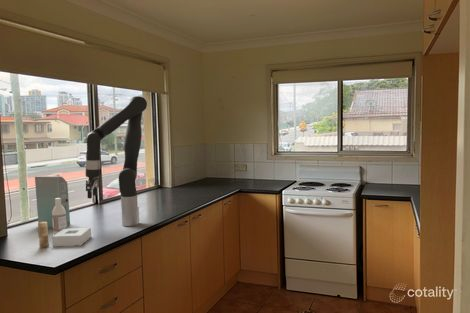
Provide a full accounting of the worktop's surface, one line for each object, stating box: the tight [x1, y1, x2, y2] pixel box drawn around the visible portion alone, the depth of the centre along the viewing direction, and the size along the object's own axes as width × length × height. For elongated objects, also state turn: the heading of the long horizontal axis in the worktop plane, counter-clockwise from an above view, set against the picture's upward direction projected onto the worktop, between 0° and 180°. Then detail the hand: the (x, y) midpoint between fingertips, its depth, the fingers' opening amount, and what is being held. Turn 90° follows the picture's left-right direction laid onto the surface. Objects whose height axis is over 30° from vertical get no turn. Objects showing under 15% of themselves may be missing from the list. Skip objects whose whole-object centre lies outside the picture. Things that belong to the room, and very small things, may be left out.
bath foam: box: [52, 198, 68, 236], centre depth 207 cm, size 7×7×20 cm
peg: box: [37, 222, 50, 249], centre depth 187 cm, size 4×4×12 cm
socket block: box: [51, 227, 92, 247], centre depth 194 cm, size 14×14×5 cm
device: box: [34, 174, 71, 229], centre depth 227 cm, size 16×8×30 cm, turn 73°
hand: (92, 196), depth 215 cm, fingers open, 8 cm apart
